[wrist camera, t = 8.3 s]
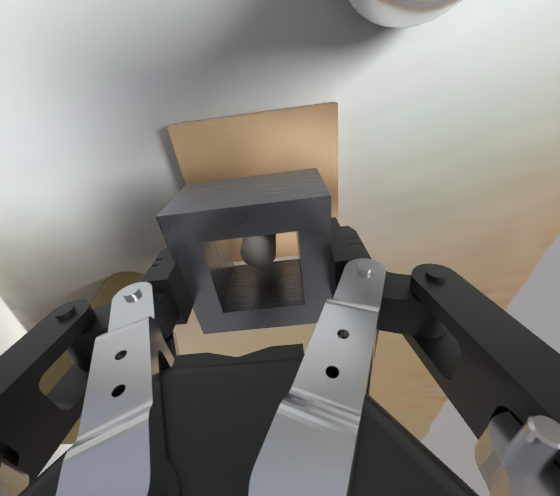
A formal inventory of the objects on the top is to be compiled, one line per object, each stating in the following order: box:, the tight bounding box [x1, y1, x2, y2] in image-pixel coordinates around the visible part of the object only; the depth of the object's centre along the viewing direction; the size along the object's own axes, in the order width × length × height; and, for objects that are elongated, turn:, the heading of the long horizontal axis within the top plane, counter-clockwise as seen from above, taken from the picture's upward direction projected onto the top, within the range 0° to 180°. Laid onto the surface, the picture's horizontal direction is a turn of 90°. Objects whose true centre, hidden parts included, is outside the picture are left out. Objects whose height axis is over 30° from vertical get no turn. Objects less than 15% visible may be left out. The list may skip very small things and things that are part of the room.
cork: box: [39, 272, 145, 444], centre depth 19 cm, size 6×6×11 cm
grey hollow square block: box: [156, 168, 333, 334], centre depth 12 cm, size 6×6×4 cm
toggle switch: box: [166, 102, 338, 267], centre depth 15 cm, size 10×10×8 cm
